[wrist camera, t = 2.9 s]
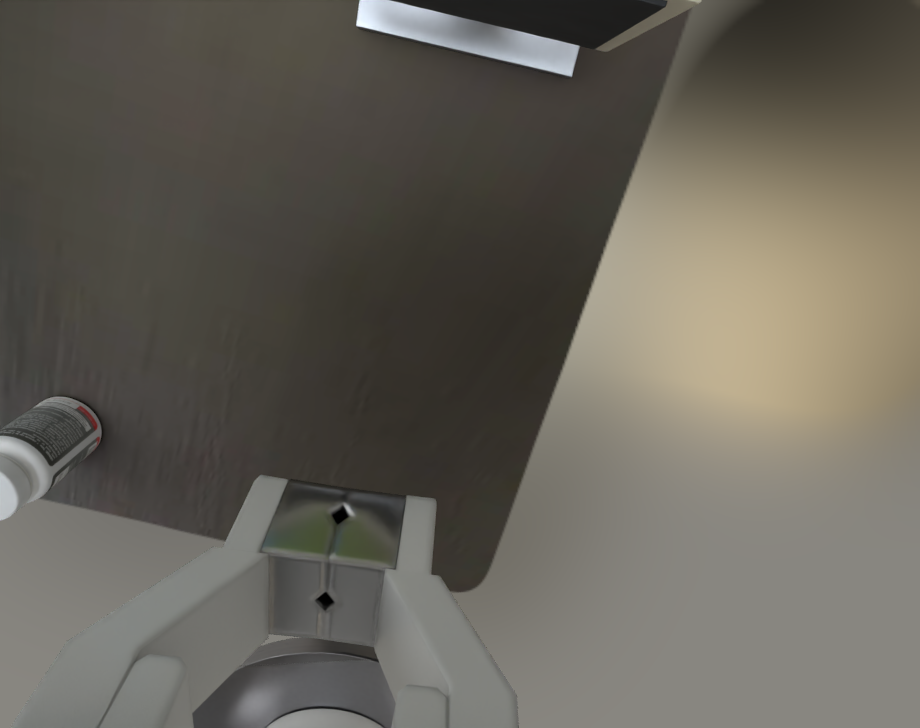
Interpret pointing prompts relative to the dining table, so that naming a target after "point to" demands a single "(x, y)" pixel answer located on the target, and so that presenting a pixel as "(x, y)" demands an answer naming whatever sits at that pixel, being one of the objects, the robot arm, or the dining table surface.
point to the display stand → (467, 37)
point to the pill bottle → (43, 449)
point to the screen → (566, 17)
